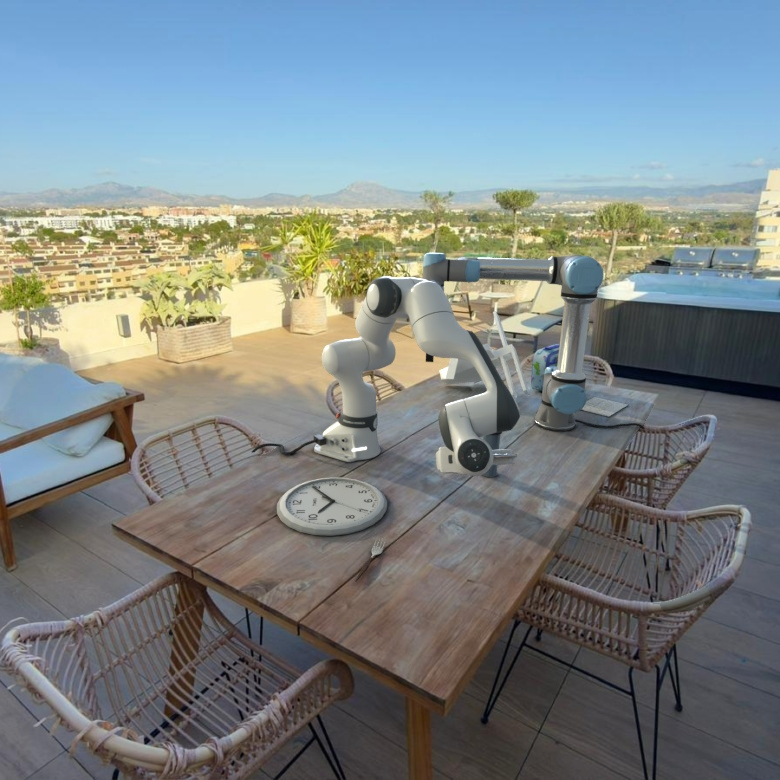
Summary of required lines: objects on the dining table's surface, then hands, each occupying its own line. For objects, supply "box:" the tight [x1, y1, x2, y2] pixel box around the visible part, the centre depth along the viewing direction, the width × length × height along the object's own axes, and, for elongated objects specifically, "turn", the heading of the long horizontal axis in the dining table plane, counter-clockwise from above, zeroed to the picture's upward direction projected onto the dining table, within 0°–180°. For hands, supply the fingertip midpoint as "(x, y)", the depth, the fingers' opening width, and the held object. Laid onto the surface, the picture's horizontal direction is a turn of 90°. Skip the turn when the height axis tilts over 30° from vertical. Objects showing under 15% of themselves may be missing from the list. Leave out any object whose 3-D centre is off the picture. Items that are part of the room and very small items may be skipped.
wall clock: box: [276, 476, 388, 537], centre depth 142 cm, size 30×2×30 cm
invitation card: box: [580, 396, 629, 418], centre depth 226 cm, size 21×1×15 cm
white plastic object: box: [438, 310, 531, 400], centre depth 245 cm, size 37×45×31 cm
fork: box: [354, 536, 387, 583], centre depth 118 cm, size 3×16×2 cm, turn 160°
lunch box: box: [530, 343, 560, 392], centre depth 248 cm, size 26×11×21 cm, turn 134°
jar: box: [482, 434, 501, 478], centre depth 161 cm, size 5×5×16 cm
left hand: (474, 459), depth 142 cm, fingers open, 8 cm apart
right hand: (430, 357), depth 190 cm, fingers open, 13 cm apart
